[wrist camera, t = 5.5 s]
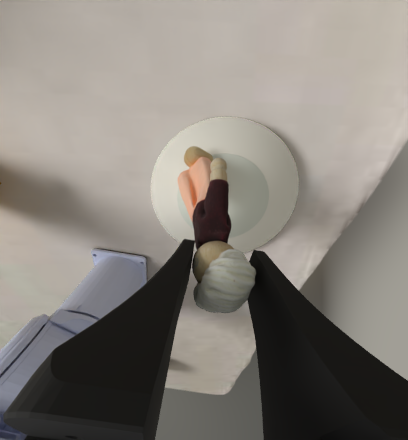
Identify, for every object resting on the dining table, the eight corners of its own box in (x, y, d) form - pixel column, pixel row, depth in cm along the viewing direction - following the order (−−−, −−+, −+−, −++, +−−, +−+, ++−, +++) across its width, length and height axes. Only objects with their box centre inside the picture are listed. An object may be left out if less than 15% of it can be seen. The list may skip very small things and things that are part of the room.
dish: (265, 259, 23) (267, 265, 22) (153, 240, 23) (150, 245, 22) (324, 133, 15) (331, 134, 14) (153, 102, 15) (149, 100, 14)
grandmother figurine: (170, 135, 14) (164, 273, 4) (215, 131, 14) (300, 253, 5) (182, 208, 19) (192, 341, 10) (215, 204, 19) (255, 330, 10)
